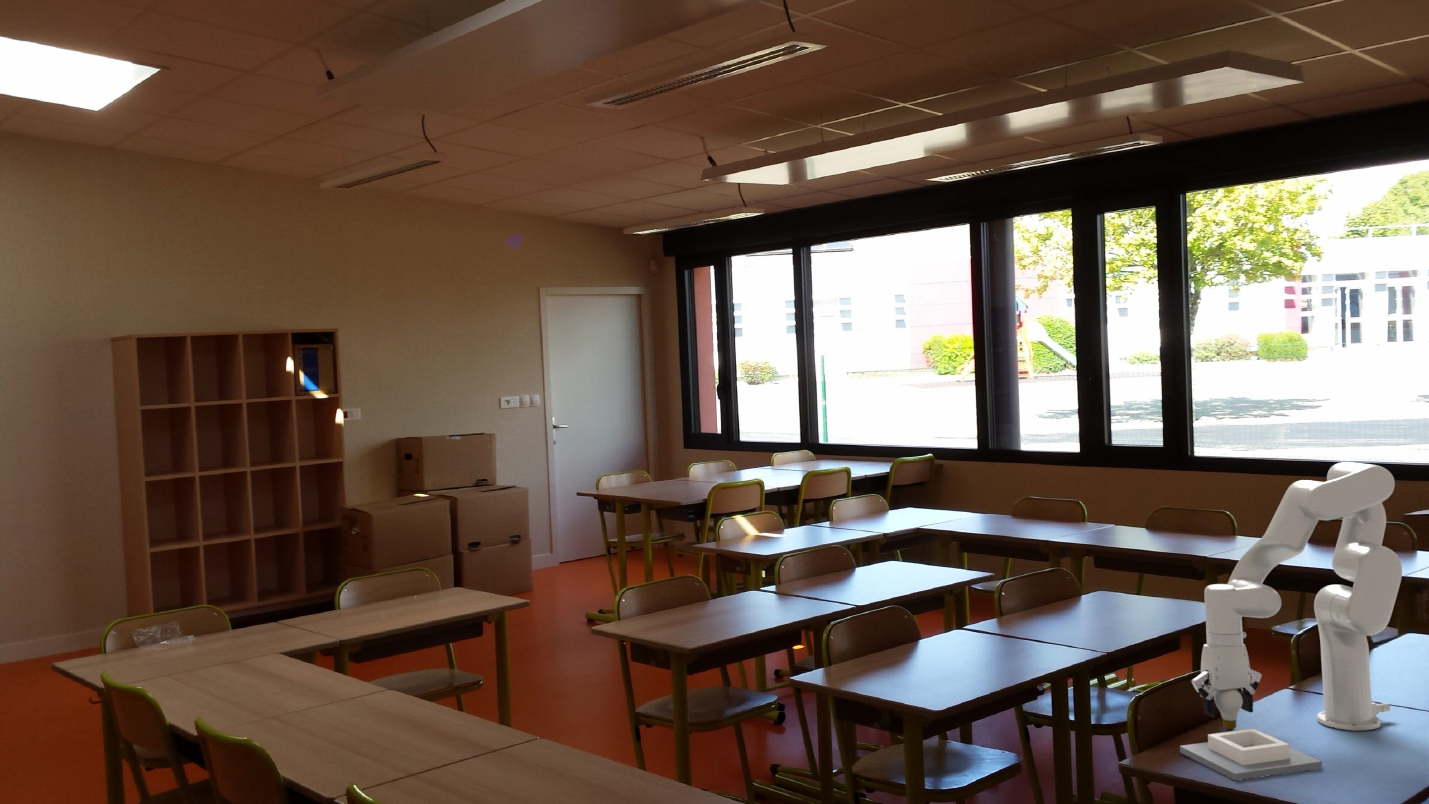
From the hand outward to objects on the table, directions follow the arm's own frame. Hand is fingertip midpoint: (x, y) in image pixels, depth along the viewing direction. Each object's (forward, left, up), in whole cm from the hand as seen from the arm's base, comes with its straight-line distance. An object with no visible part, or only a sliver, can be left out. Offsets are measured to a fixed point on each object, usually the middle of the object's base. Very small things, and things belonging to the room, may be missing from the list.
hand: (1228, 713), depth 243 cm
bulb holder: (+9, +18, -4) cm, 20 cm away
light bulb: (0, 0, -4) cm, 4 cm away
